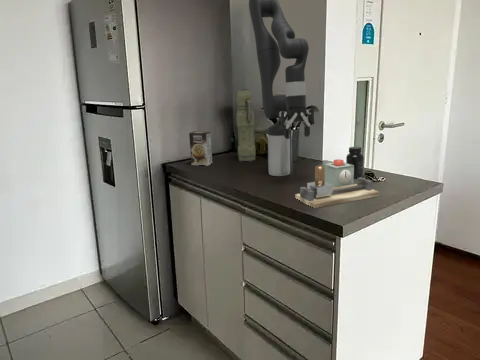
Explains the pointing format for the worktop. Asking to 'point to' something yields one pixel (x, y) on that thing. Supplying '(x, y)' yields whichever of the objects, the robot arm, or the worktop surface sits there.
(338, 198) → the rail track
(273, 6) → the robot arm
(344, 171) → the button box
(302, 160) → the worktop surface
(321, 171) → the carriage
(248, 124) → the thermos
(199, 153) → the coffee box
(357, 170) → the supplement bottle
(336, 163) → the button
